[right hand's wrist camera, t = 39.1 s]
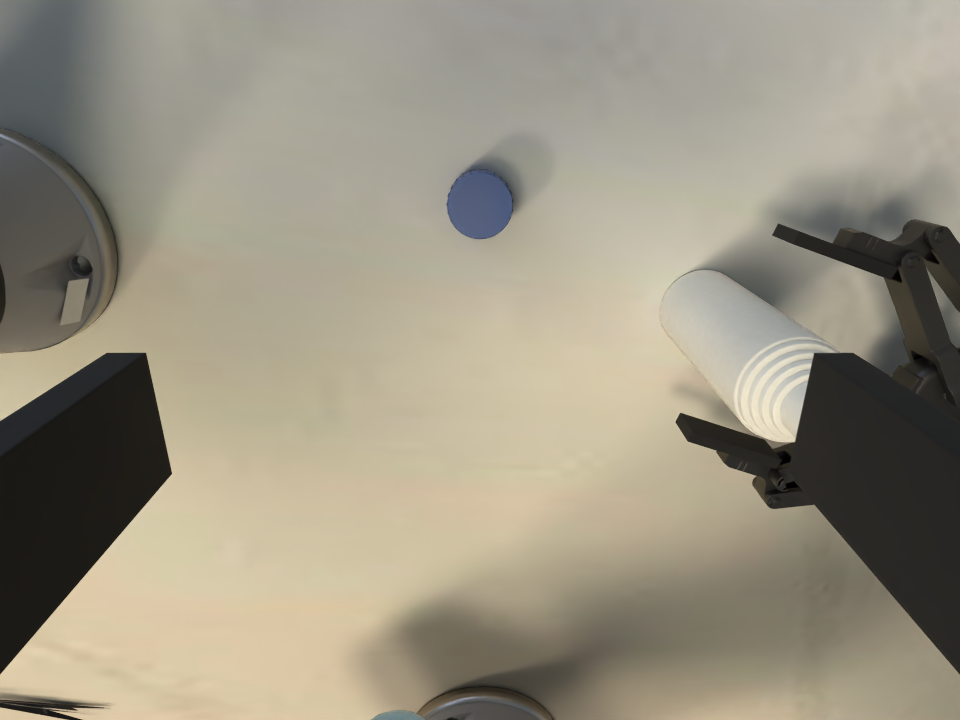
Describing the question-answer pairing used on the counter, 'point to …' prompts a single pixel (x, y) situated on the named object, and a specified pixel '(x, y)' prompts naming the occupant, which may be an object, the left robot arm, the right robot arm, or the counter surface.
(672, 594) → the counter surface
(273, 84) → the counter surface
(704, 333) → the bottle
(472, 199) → the cap
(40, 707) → the feather
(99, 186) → the counter surface
